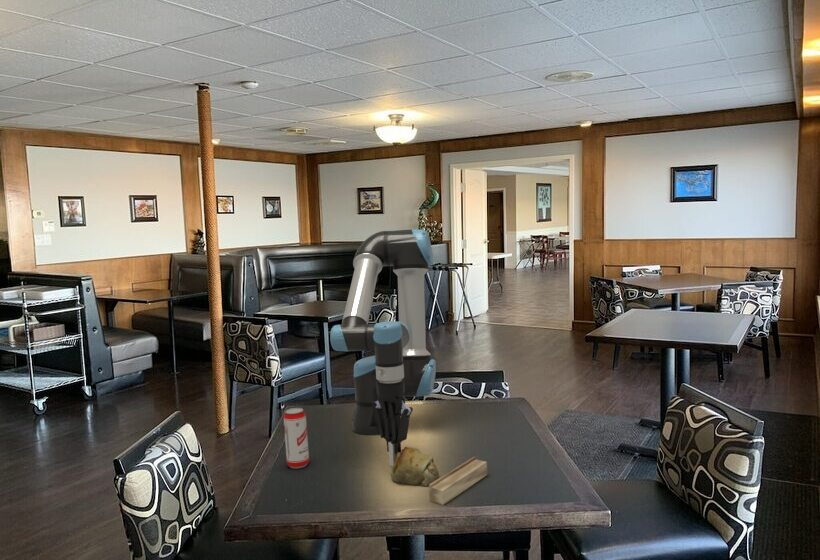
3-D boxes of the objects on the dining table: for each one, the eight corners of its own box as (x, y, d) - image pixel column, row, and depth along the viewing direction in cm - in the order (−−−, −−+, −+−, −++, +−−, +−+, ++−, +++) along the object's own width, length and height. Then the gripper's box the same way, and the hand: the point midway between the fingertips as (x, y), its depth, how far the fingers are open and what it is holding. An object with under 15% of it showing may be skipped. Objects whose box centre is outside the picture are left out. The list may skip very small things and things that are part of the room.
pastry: (382, 473, 168) (381, 444, 167) (424, 463, 172) (423, 435, 172) (402, 493, 155) (401, 462, 154) (447, 482, 159) (446, 452, 159)
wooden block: (429, 500, 149) (428, 484, 149) (474, 471, 165) (473, 456, 165) (443, 505, 147) (442, 488, 147) (487, 474, 162) (486, 459, 162)
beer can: (313, 461, 178) (309, 407, 176) (302, 470, 172) (298, 414, 170) (294, 460, 180) (290, 406, 178) (283, 468, 174) (278, 413, 172)
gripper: (363, 380, 167) (368, 464, 170) (399, 386, 159) (404, 474, 162) (381, 373, 173) (386, 455, 176) (417, 379, 165) (422, 464, 167)
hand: (394, 464), depth 169 cm, fingers closed
